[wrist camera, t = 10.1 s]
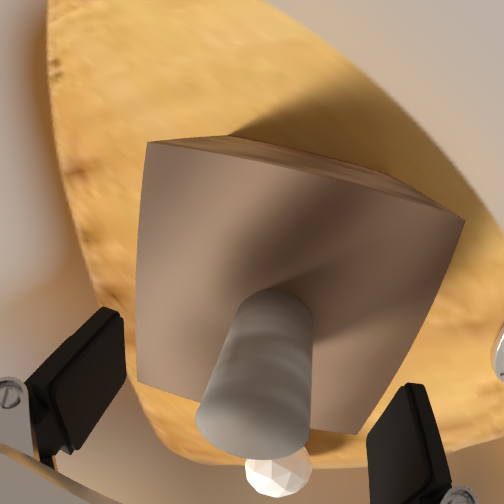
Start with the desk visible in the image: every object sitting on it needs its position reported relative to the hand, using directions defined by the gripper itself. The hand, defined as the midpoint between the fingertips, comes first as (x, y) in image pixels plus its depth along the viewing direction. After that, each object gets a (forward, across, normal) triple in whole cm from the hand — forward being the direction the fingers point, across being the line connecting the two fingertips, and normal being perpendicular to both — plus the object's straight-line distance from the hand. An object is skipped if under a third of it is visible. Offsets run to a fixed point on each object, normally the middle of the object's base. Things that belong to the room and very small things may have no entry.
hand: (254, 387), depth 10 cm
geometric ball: (+17, -6, +26) cm, 32 cm away
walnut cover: (+17, 0, 0) cm, 17 cm away
